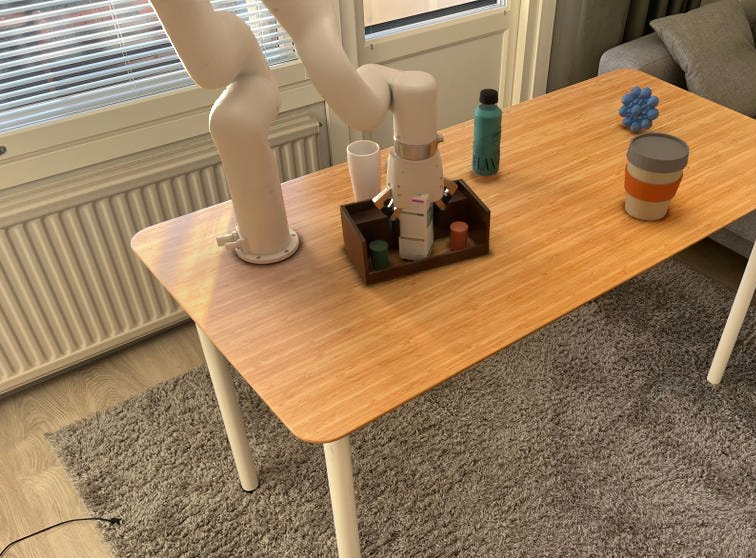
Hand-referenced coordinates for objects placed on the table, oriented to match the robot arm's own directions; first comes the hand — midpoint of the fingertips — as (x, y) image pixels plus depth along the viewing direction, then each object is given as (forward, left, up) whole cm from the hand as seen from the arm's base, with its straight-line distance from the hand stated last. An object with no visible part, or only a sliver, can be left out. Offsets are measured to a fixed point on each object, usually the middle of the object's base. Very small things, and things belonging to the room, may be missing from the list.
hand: (416, 228), depth 137 cm
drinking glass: (-3, +19, -7) cm, 21 cm away
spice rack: (+1, +2, -6) cm, 7 cm away
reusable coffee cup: (+53, -4, -7) cm, 53 cm away
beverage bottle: (+27, +23, -7) cm, 36 cm away
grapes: (+73, +28, -7) cm, 78 cm away
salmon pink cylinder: (+9, 0, -6) cm, 11 cm away
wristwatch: (+9, +34, -7) cm, 36 cm away
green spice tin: (-8, 0, -6) cm, 10 cm away
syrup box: (0, 0, -6) cm, 6 cm away
